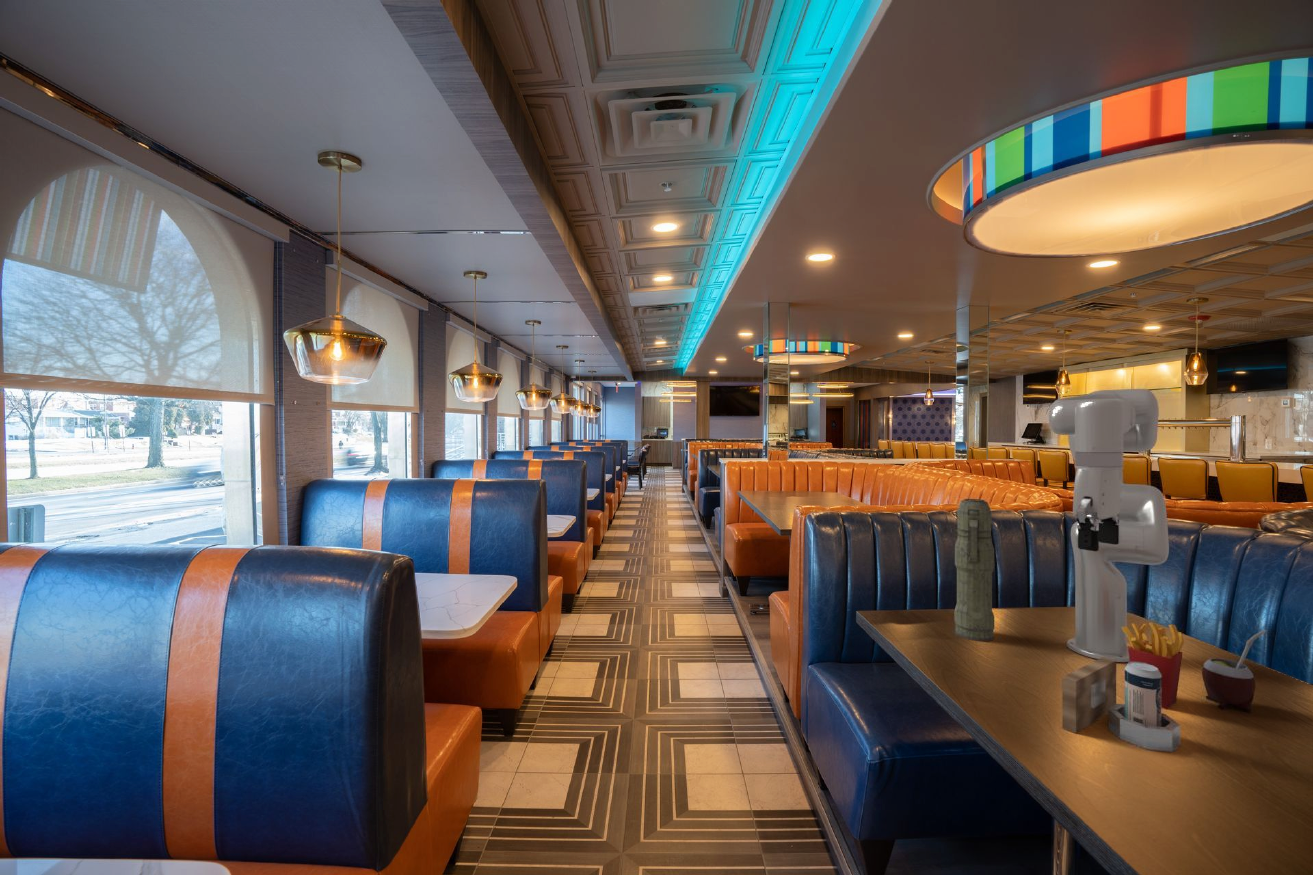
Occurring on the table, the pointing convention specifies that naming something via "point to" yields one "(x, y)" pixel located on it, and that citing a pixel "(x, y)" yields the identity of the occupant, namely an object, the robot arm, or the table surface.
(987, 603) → the thermos
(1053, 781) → the table surface
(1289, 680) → the table surface
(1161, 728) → the grey octagonal ring
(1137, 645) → the french fries
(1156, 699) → the beer can
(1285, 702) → the table surface
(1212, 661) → the mate gourd
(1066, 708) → the brown flat block
